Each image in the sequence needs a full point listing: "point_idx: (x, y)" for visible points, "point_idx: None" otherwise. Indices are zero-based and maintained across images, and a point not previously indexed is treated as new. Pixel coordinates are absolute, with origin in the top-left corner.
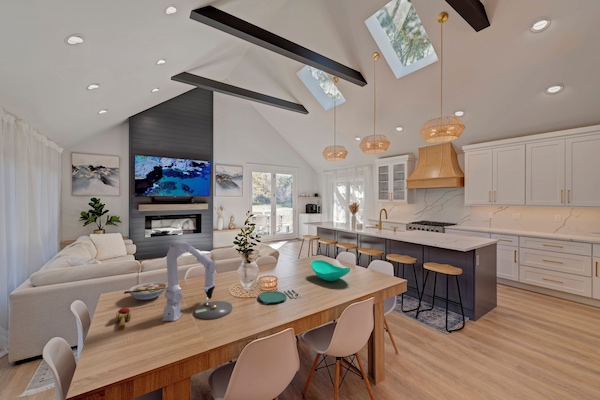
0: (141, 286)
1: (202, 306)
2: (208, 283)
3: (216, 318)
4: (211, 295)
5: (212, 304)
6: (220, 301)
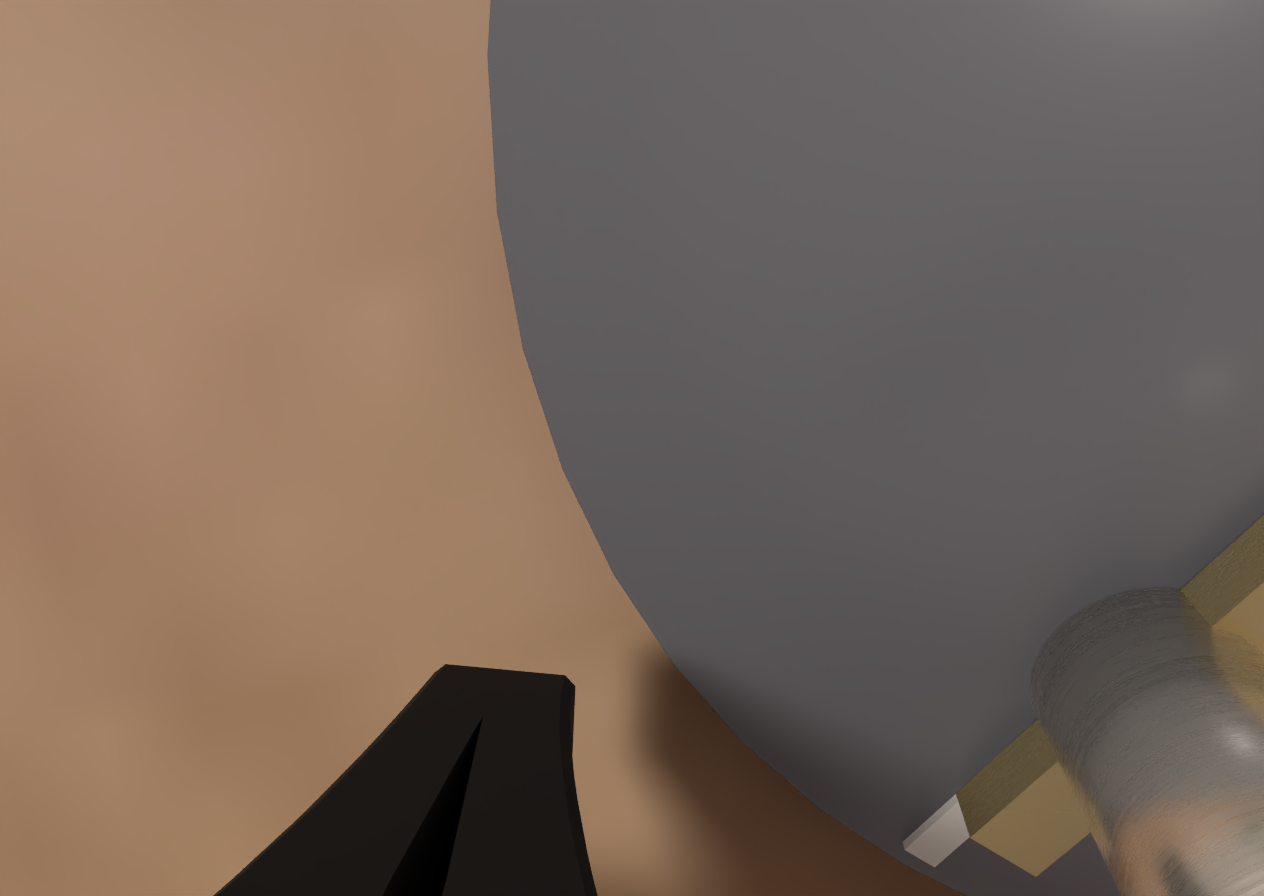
0: None
1: None
2: None
3: None
4: (492, 789)
5: (1019, 380)
6: None
